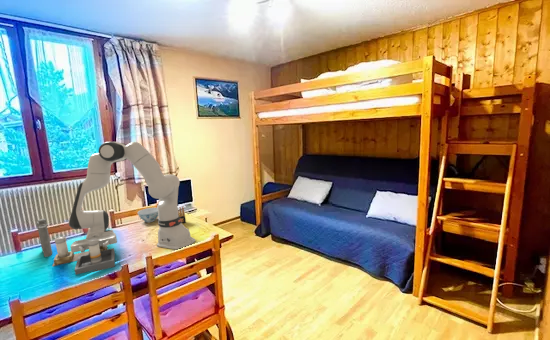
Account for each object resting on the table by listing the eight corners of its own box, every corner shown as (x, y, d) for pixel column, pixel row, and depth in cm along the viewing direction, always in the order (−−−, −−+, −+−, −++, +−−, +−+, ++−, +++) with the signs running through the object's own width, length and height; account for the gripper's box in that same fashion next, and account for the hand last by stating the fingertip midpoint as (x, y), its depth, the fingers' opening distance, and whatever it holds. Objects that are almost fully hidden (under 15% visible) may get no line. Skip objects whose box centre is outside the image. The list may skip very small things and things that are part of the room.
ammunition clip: (170, 226, 191) (168, 209, 189) (169, 225, 193) (167, 208, 191) (186, 222, 197) (184, 206, 195) (185, 222, 199) (183, 205, 196)
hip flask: (42, 250, 163) (35, 217, 159) (50, 247, 166) (44, 215, 162) (44, 259, 151) (37, 223, 148) (54, 256, 154) (47, 221, 151)
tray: (114, 254, 153) (113, 248, 152) (114, 266, 139) (113, 260, 139) (79, 262, 145) (78, 256, 145) (75, 276, 132) (74, 269, 131)
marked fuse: (103, 261, 143) (100, 239, 141) (93, 265, 139) (90, 243, 137) (99, 259, 145) (95, 237, 143) (89, 263, 142) (85, 241, 140)
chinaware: (163, 221, 203) (162, 210, 201) (140, 226, 194) (139, 215, 193) (158, 215, 215) (157, 206, 214) (137, 220, 207) (136, 210, 205)
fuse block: (108, 248, 161) (107, 242, 160) (107, 255, 152) (106, 249, 152) (56, 260, 149) (54, 253, 149) (52, 268, 141) (51, 261, 140)
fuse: (71, 258, 147) (66, 237, 145) (60, 262, 144) (56, 240, 142) (68, 256, 150) (63, 235, 148) (57, 260, 147) (53, 238, 145)
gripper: (71, 238, 146) (67, 247, 135) (115, 229, 156) (115, 237, 144) (73, 249, 148) (69, 259, 136) (117, 239, 157) (117, 248, 145)
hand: (93, 248), depth 140 cm, fingers open, 8 cm apart
